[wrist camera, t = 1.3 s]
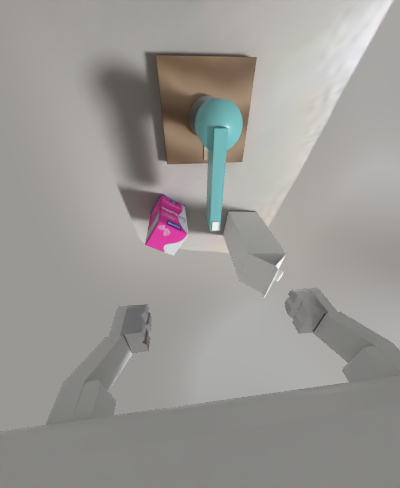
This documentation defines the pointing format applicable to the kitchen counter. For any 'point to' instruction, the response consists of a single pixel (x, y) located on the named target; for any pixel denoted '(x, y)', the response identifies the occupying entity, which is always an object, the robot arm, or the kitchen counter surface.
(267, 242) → the milk carton
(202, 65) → the tan square panel
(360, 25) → the kitchen counter surface
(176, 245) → the supplement box
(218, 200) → the teal lever handle
